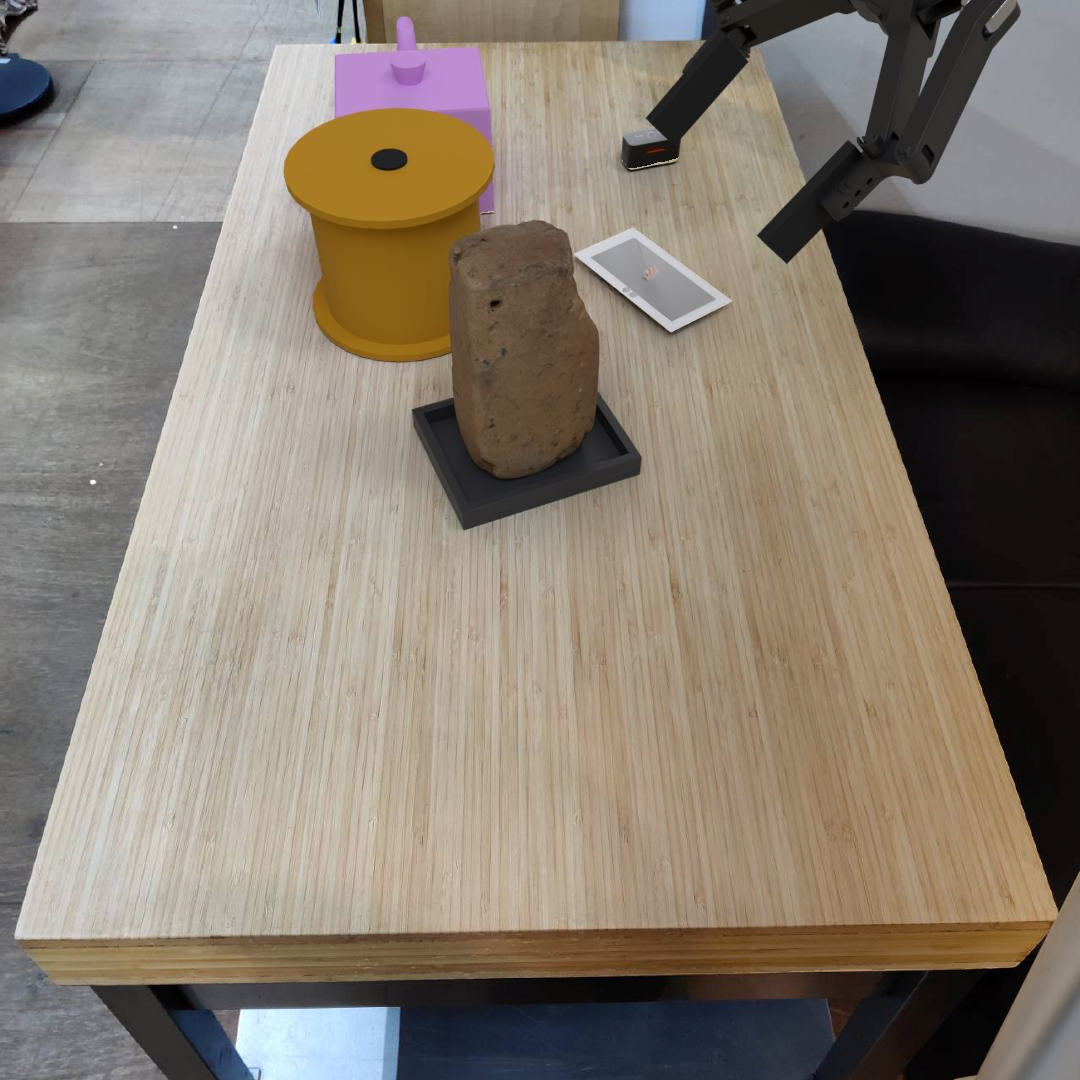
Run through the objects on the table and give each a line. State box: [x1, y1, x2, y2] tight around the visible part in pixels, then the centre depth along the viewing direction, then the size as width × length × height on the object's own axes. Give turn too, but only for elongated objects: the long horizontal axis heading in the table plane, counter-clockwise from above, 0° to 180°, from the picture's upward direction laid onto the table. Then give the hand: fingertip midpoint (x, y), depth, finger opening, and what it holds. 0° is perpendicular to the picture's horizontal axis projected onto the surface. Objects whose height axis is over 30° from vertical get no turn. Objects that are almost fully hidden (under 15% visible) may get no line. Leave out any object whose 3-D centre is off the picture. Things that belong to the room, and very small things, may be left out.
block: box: [448, 219, 600, 479], centre depth 75 cm, size 11×8×20 cm
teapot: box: [333, 15, 495, 213], centre depth 104 cm, size 15×25×14 cm, turn 7°
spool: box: [282, 108, 496, 363], centre depth 90 cm, size 18×18×15 cm
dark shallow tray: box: [411, 391, 643, 531], centre depth 83 cm, size 13×16×2 cm
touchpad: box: [572, 227, 734, 333], centre depth 97 cm, size 8×15×2 cm, turn 36°
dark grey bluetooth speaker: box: [620, 127, 682, 168], centre depth 111 cm, size 5×7×3 cm, turn 109°
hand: (711, 187), depth 59 cm, fingers open, 13 cm apart
